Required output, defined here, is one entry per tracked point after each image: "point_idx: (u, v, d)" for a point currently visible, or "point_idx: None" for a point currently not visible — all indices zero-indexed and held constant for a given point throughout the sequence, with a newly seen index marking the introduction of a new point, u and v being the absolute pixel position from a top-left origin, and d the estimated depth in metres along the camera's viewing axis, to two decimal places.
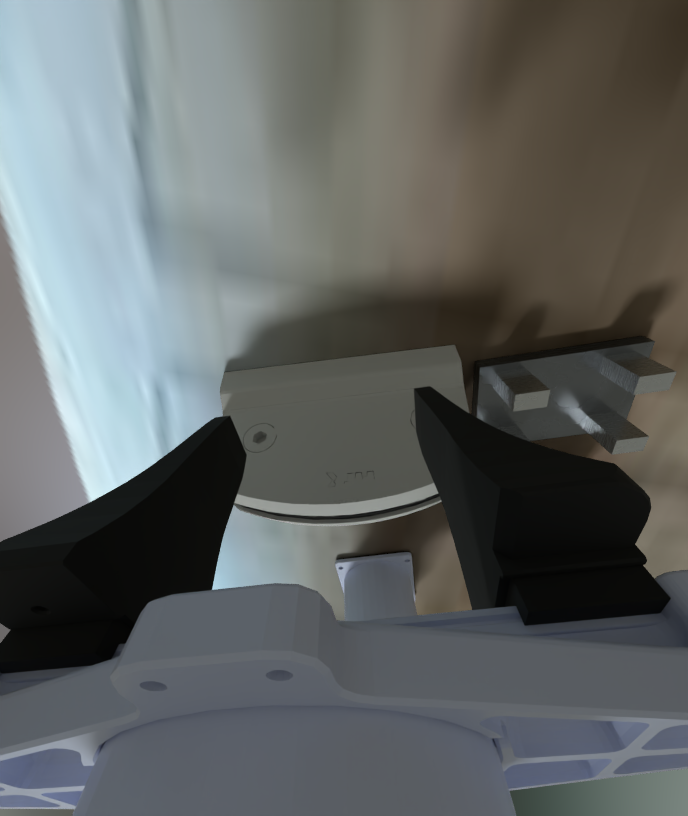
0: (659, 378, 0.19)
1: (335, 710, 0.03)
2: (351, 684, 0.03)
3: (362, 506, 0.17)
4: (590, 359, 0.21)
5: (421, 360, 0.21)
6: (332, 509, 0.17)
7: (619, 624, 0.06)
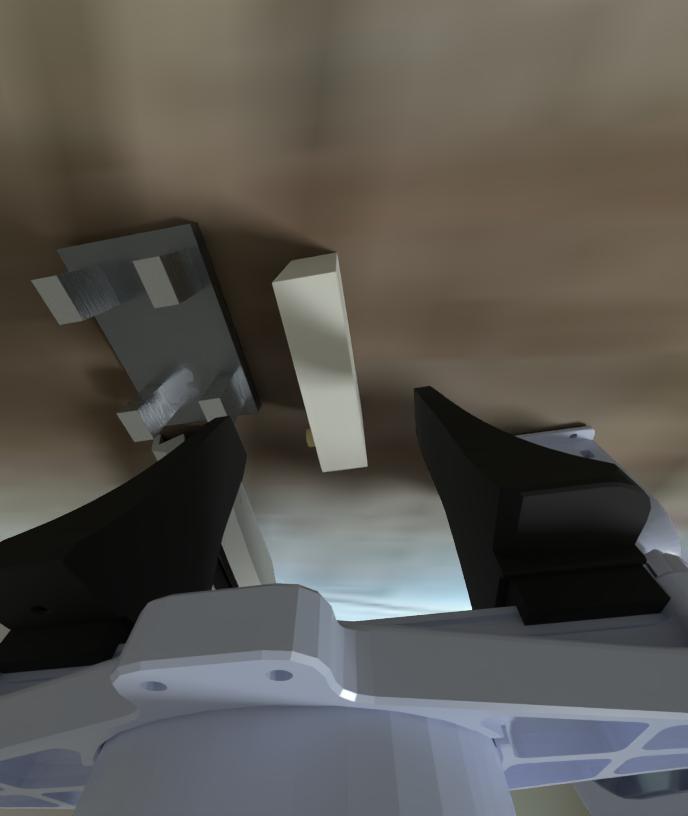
0: (49, 299, 0.14)
1: (335, 710, 0.03)
2: (351, 684, 0.03)
3: None
4: (109, 321, 0.18)
5: None
6: None
7: (619, 624, 0.06)
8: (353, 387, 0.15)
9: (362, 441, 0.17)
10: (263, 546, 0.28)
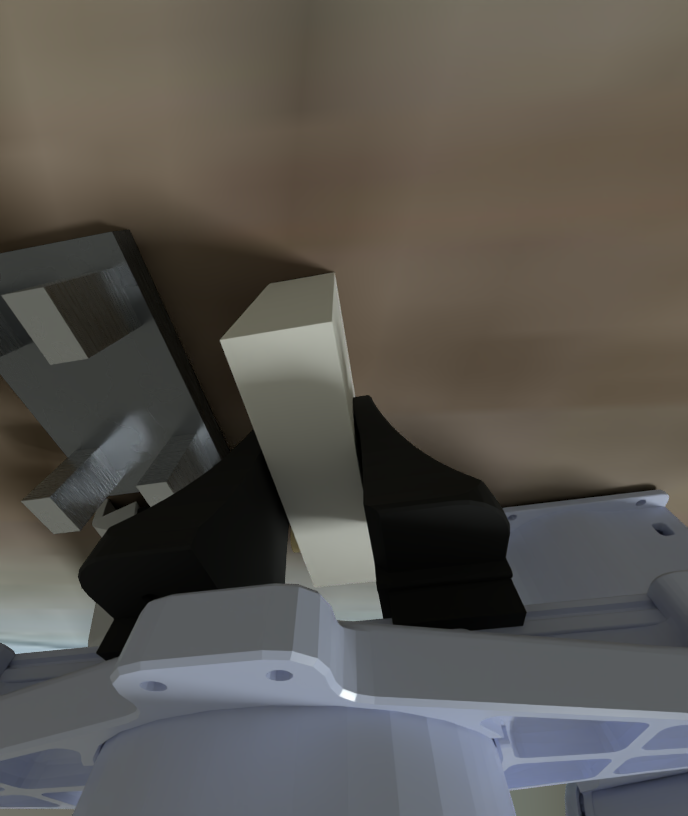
0: None
1: (335, 710, 0.03)
2: (351, 684, 0.03)
3: None
4: (13, 369, 0.13)
5: None
6: None
7: None
8: (360, 488, 0.10)
9: (372, 553, 0.11)
10: None
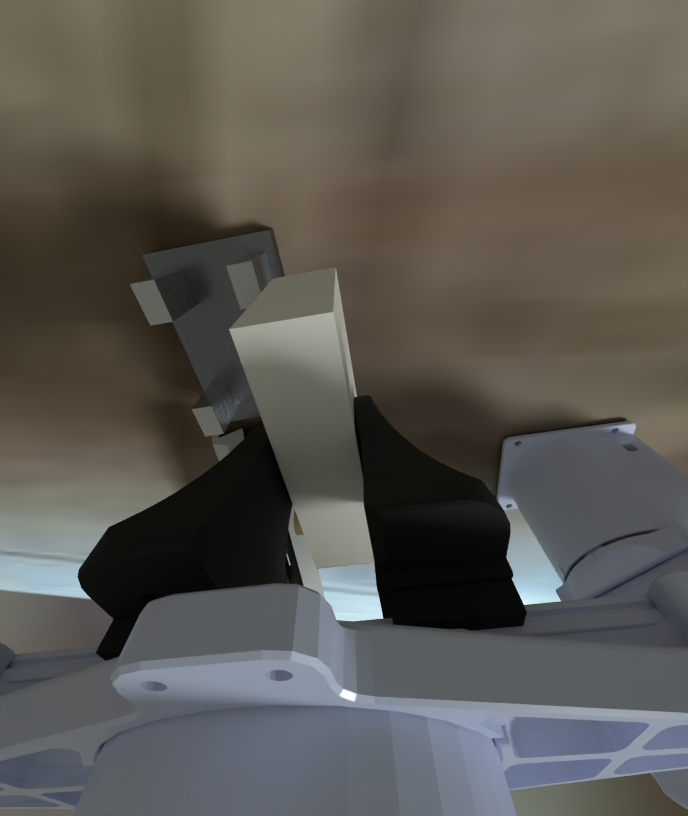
0: (144, 301, 0.15)
1: (335, 710, 0.03)
2: (351, 684, 0.03)
3: None
4: (183, 322, 0.19)
5: None
6: None
7: None
8: (360, 471, 0.10)
9: None
10: None
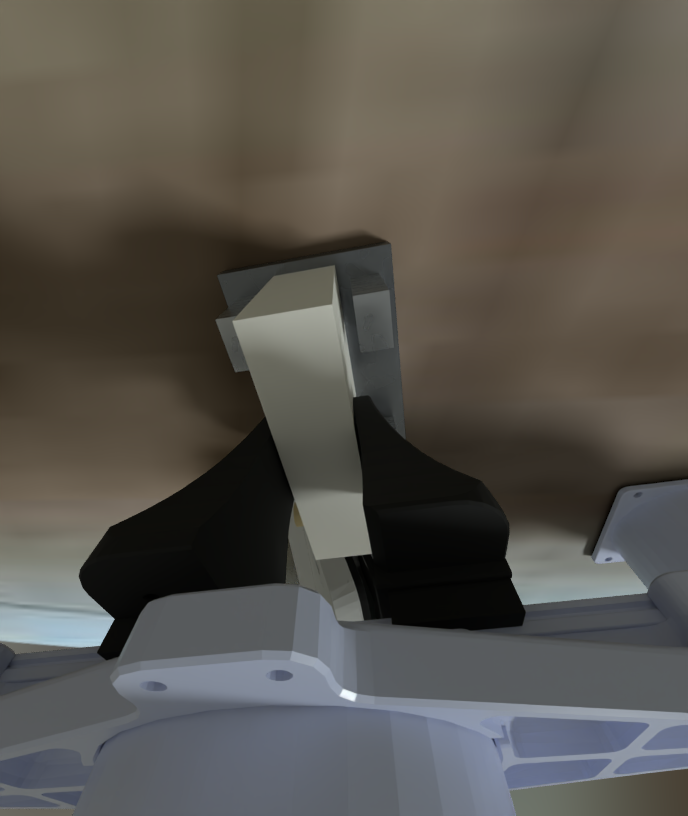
0: (231, 342, 0.11)
1: (335, 710, 0.03)
2: (351, 684, 0.03)
3: None
4: None
5: None
6: None
7: None
8: (358, 461, 0.10)
9: None
10: None
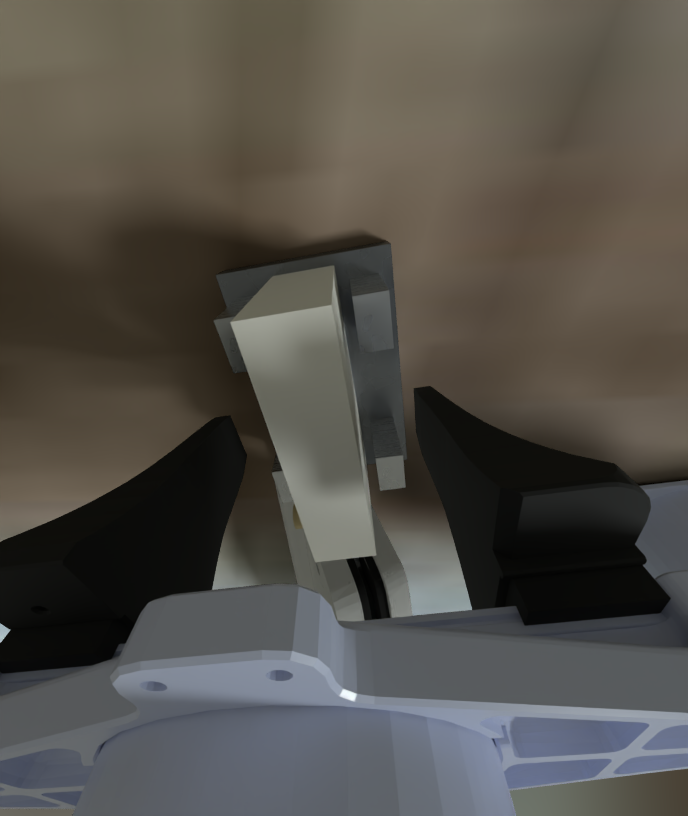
0: (230, 342, 0.11)
1: (335, 710, 0.03)
2: (351, 684, 0.03)
3: None
4: None
5: (283, 516, 0.20)
6: None
7: (619, 624, 0.06)
8: (358, 463, 0.10)
9: (369, 527, 0.12)
10: None
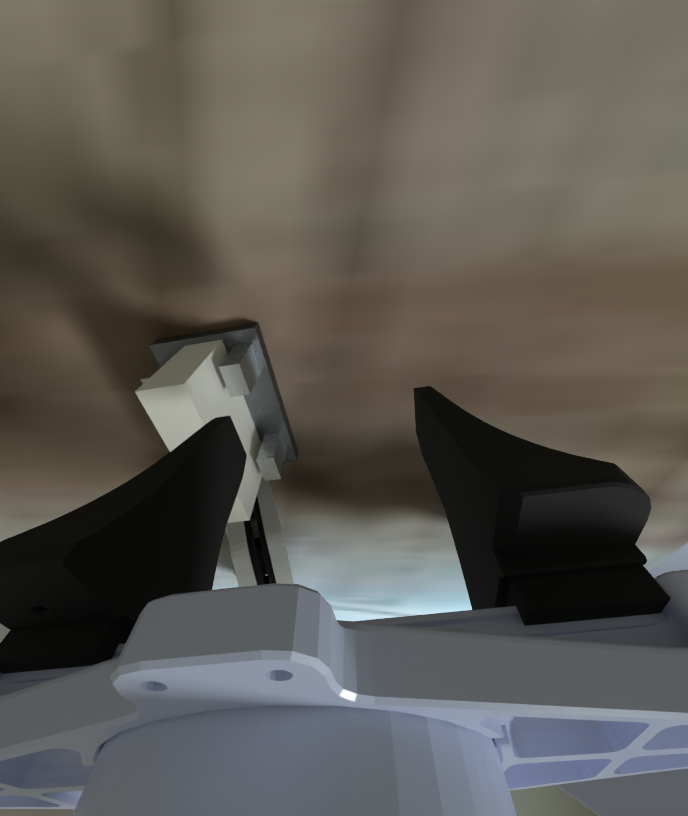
0: None
1: (335, 710, 0.03)
2: (351, 684, 0.03)
3: None
4: None
5: None
6: None
7: (619, 624, 0.06)
8: None
9: (239, 501, 0.20)
10: None
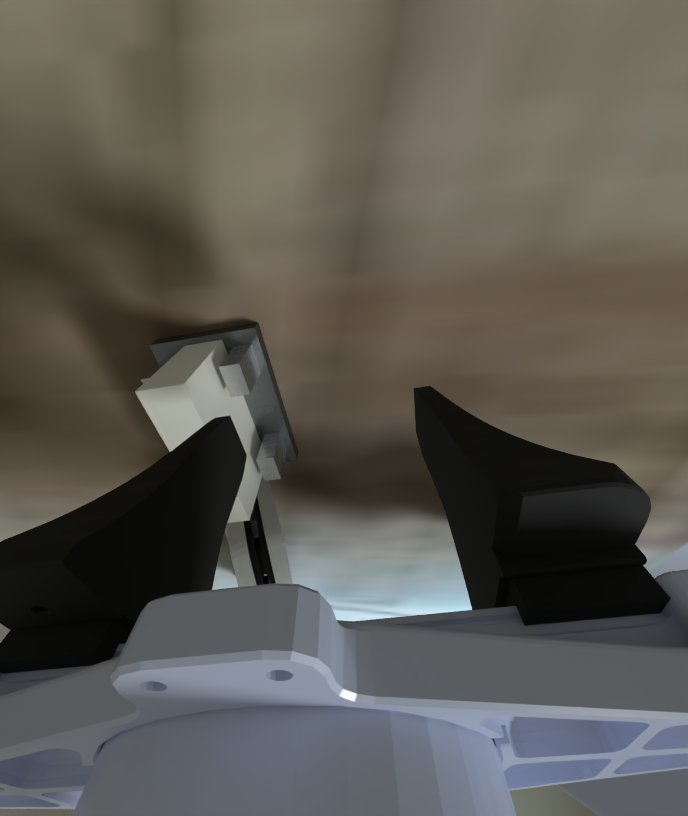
0: None
1: (335, 710, 0.03)
2: (351, 684, 0.03)
3: None
4: None
5: None
6: None
7: (619, 624, 0.06)
8: None
9: (239, 501, 0.20)
10: None
